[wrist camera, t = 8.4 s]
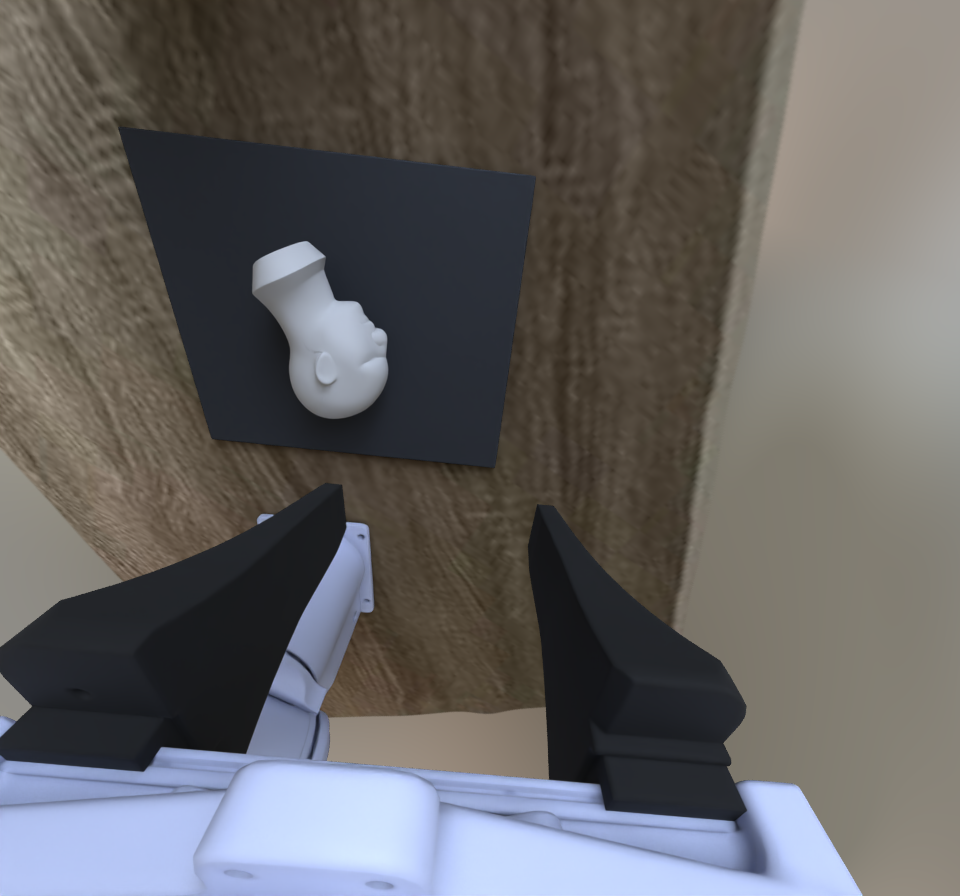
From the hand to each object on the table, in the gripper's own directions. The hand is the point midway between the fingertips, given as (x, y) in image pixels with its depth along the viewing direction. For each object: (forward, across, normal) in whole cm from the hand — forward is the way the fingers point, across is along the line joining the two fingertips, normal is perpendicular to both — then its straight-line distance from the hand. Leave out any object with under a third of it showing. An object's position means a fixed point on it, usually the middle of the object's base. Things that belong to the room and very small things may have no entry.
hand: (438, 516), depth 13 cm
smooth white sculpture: (+9, +6, -4) cm, 12 cm away
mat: (+9, +6, -4) cm, 12 cm away
